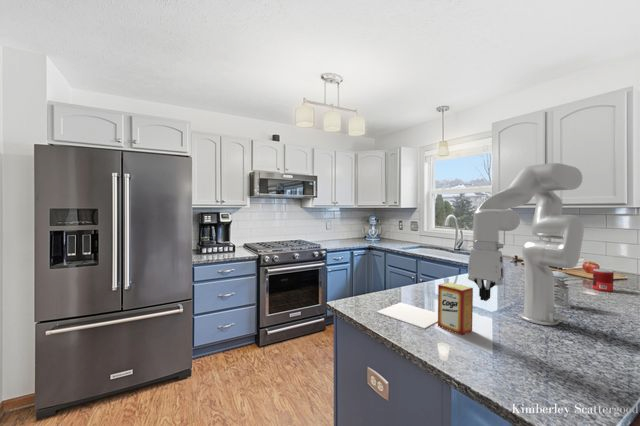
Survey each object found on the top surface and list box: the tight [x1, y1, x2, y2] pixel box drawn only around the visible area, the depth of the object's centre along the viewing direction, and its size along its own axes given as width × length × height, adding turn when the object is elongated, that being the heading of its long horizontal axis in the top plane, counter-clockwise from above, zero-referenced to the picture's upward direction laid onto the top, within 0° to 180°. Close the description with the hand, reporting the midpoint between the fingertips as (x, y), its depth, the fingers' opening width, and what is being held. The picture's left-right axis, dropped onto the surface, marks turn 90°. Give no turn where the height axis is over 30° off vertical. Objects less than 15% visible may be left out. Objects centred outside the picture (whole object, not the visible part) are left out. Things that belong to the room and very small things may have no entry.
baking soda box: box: [437, 281, 474, 336], centre depth 107 cm, size 10×6×16 cm
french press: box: [551, 270, 572, 309], centre depth 135 cm, size 10×12×25 cm
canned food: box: [592, 268, 614, 293], centre depth 158 cm, size 8×8×11 cm
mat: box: [375, 302, 438, 330], centre depth 121 cm, size 22×18×1 cm
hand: (484, 299), depth 100 cm, fingers closed
